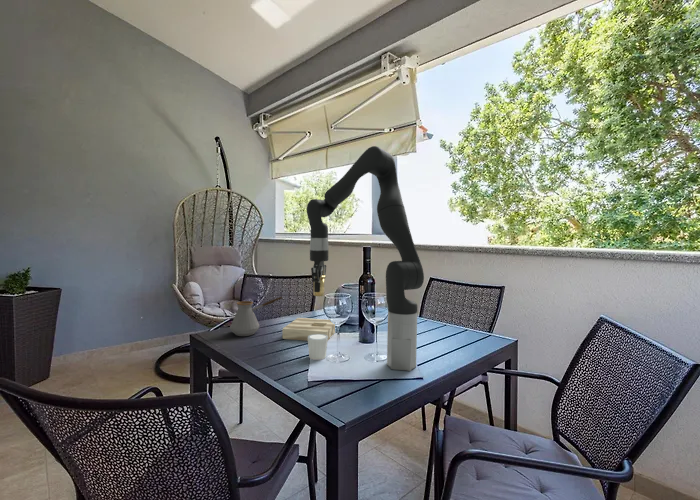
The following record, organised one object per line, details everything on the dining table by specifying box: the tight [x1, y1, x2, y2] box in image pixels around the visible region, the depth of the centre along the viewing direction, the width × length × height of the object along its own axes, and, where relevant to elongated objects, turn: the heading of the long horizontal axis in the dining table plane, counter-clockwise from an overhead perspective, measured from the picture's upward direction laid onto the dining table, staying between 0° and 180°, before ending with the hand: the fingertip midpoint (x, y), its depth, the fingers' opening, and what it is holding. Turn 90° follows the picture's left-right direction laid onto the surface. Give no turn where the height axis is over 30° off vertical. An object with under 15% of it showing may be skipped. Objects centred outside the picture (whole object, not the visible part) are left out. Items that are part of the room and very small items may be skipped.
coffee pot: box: [229, 296, 284, 337], centre depth 144 cm, size 21×12×15 cm, turn 100°
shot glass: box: [307, 334, 329, 361], centre depth 117 cm, size 7×7×7 cm
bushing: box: [312, 275, 327, 297], centre depth 142 cm, size 6×6×8 cm
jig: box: [282, 317, 336, 342], centre depth 144 cm, size 18×18×4 cm
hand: (318, 290), depth 143 cm, fingers closed on bushing, 4 cm apart
